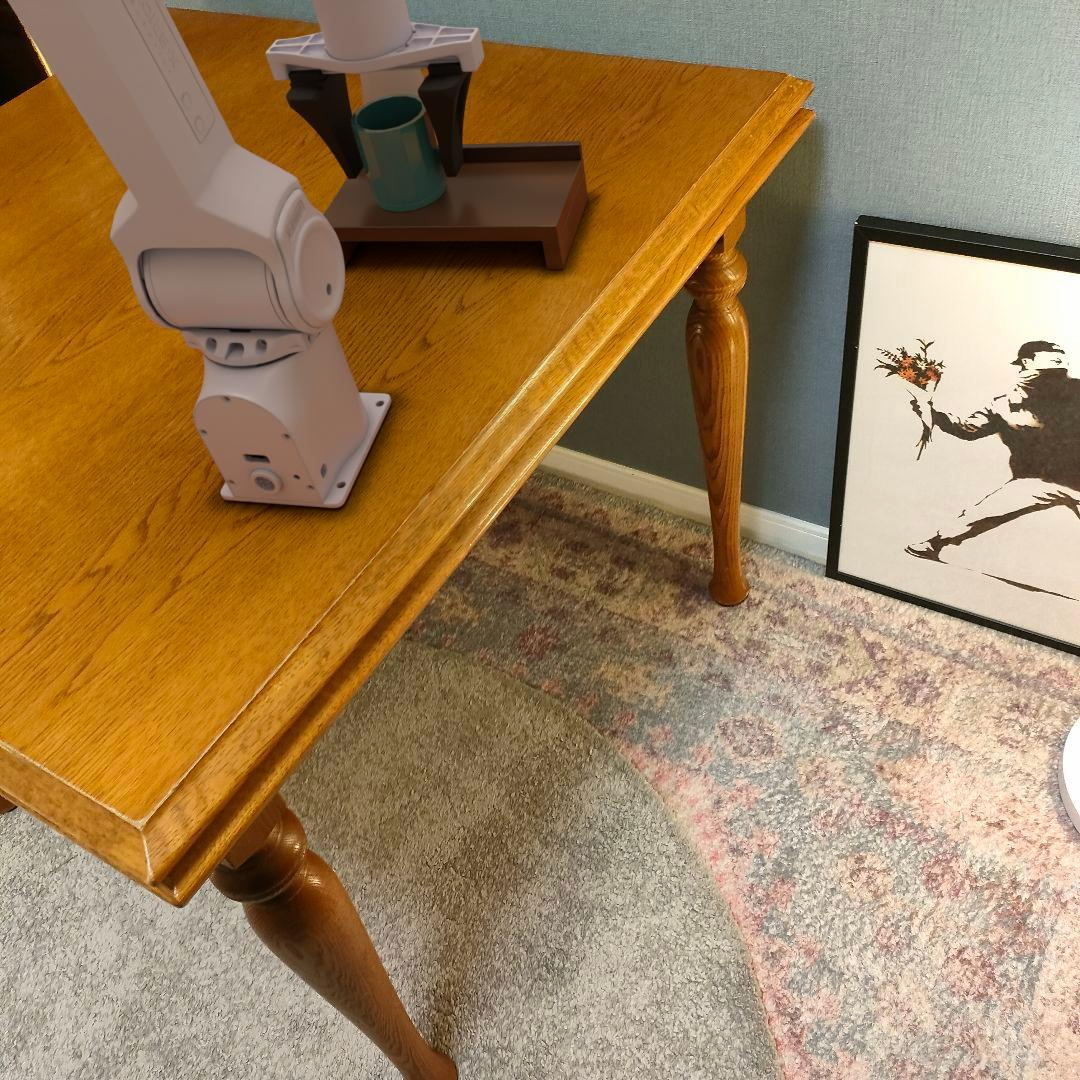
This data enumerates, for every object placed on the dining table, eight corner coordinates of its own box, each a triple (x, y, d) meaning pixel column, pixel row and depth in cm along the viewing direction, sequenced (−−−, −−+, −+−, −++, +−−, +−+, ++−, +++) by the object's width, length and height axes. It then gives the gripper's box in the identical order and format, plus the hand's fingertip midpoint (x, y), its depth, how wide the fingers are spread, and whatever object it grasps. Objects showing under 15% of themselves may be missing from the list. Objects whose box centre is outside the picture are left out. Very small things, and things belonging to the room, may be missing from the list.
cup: (434, 212, 71) (413, 131, 66) (364, 212, 72) (339, 133, 68) (455, 171, 74) (437, 92, 70) (388, 172, 76) (366, 95, 71)
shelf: (563, 270, 70) (553, 210, 66) (329, 268, 75) (309, 212, 71) (588, 199, 75) (581, 140, 72) (369, 201, 80) (352, 146, 77)
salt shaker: (425, 142, 85) (385, -21, 75) (363, 144, 87) (315, -15, 77) (443, 108, 89) (406, -51, 79) (383, 111, 90) (340, -45, 80)
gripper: (478, -68, 62) (515, 139, 72) (270, -50, 66) (333, 144, 76) (446, -20, 58) (490, 192, 68) (225, -4, 62) (298, 195, 72)
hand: (405, 170), depth 72 cm, fingers open, 7 cm apart
